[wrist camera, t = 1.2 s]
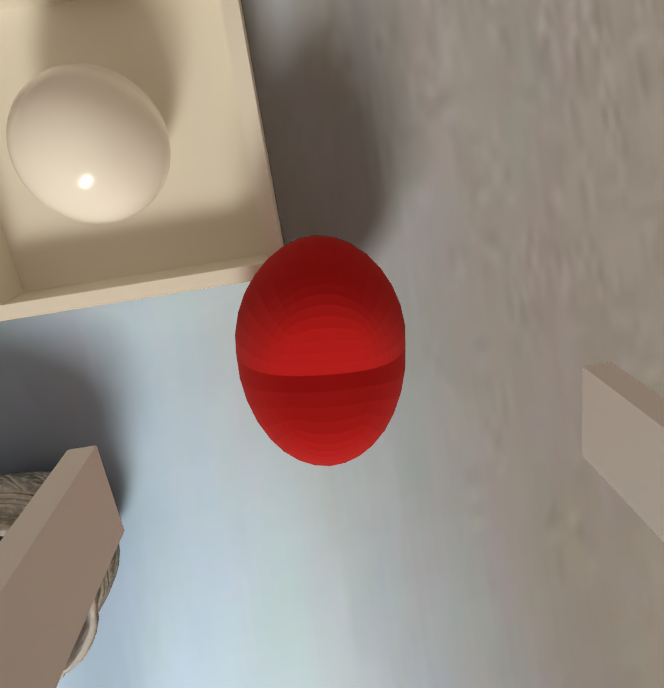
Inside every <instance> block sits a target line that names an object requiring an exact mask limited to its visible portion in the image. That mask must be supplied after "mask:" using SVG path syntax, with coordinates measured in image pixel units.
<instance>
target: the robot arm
mask: <svg viewBox="0 0 664 688" xmlns="http://www.w3.org/2000/svg"><path fill="white" fill-rule="evenodd" d="M582 456H583V457H584V458H585V459H586V460H587V461H588V462H589V463H590V464H591V465H592V466H593V467H594V468H595V470H596V471H597V472H598V473H599V474H600V475H601V476H602V477H603V478H604V479H605V480H606V481H607V482H608V483H609V484H610V486H611V487H612V488H613V489H614V490H615V491H616V492H617V493H618V494H619V495H620V496H621V497H622V498H623V499H624V500H625V502H626V503H627V504H628V505H629V506H630V507H631V508H632V509H633V510H634V511H635V512H636V513H637V514H638V515H639V516H640V518H641V519H642V520H643V521H644V522H645V523H646V524H647V525H648V526H649V527H650V528H651V529H652V530H653V531H654V532H655V534H656V535H657V536H658V537H659V538H660V539H661V540H662V541H663V542H664V398H663V397H662V396H660V395H659V394H657V393H656V392H654V391H653V390H651V389H650V388H648V387H647V386H645V385H644V384H642V383H641V382H640V381H638V380H637V379H635V378H634V377H632V376H631V375H629V374H628V373H626V372H625V371H623V370H622V369H620V368H619V367H617V366H616V365H614V364H613V363H612V362H606V363H600V364H594V365H588V366H582ZM123 532H124V528H123V525H122V522H121V519H120V516H119V513H118V510H117V507H116V504H115V501H114V497H113V494H112V491H111V488H110V485H109V482H108V479H107V476H106V473H105V470H104V467H103V464H102V461H101V458H100V455H99V452H98V449H97V446H96V445H94V446H88V447H82V448H76V449H70V450H67V451H66V453H65V454H64V455H63V457H62V458H61V460H60V461H59V462H58V464H57V465H56V466H55V468H54V469H53V470H52V472H51V473H50V474H49V476H48V477H47V479H46V480H45V481H44V483H43V484H42V485H41V487H40V488H39V489H38V491H37V492H36V494H35V495H34V496H33V498H32V499H31V500H30V502H29V503H28V504H27V506H26V507H25V508H24V510H23V511H22V513H21V514H20V515H19V517H18V518H17V519H16V521H15V522H14V523H13V525H12V526H11V527H10V529H9V530H8V532H7V533H6V534H5V536H4V537H3V538H2V540H1V541H0V688H56V687H57V684H58V682H59V680H60V677H61V675H62V673H63V670H64V668H65V666H66V664H67V661H68V659H69V657H70V654H71V652H72V650H73V647H74V645H75V643H76V641H77V638H78V636H79V634H80V631H81V629H82V627H83V624H84V622H85V620H86V618H87V615H88V613H89V611H90V608H91V606H92V604H93V601H94V599H95V597H96V594H97V592H98V590H99V588H100V585H101V583H102V581H103V578H104V576H105V574H106V571H107V569H108V567H109V565H110V562H111V560H112V558H113V555H114V553H115V551H116V548H117V546H118V544H119V542H120V539H121V537H122V535H123Z"/></svg>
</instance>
